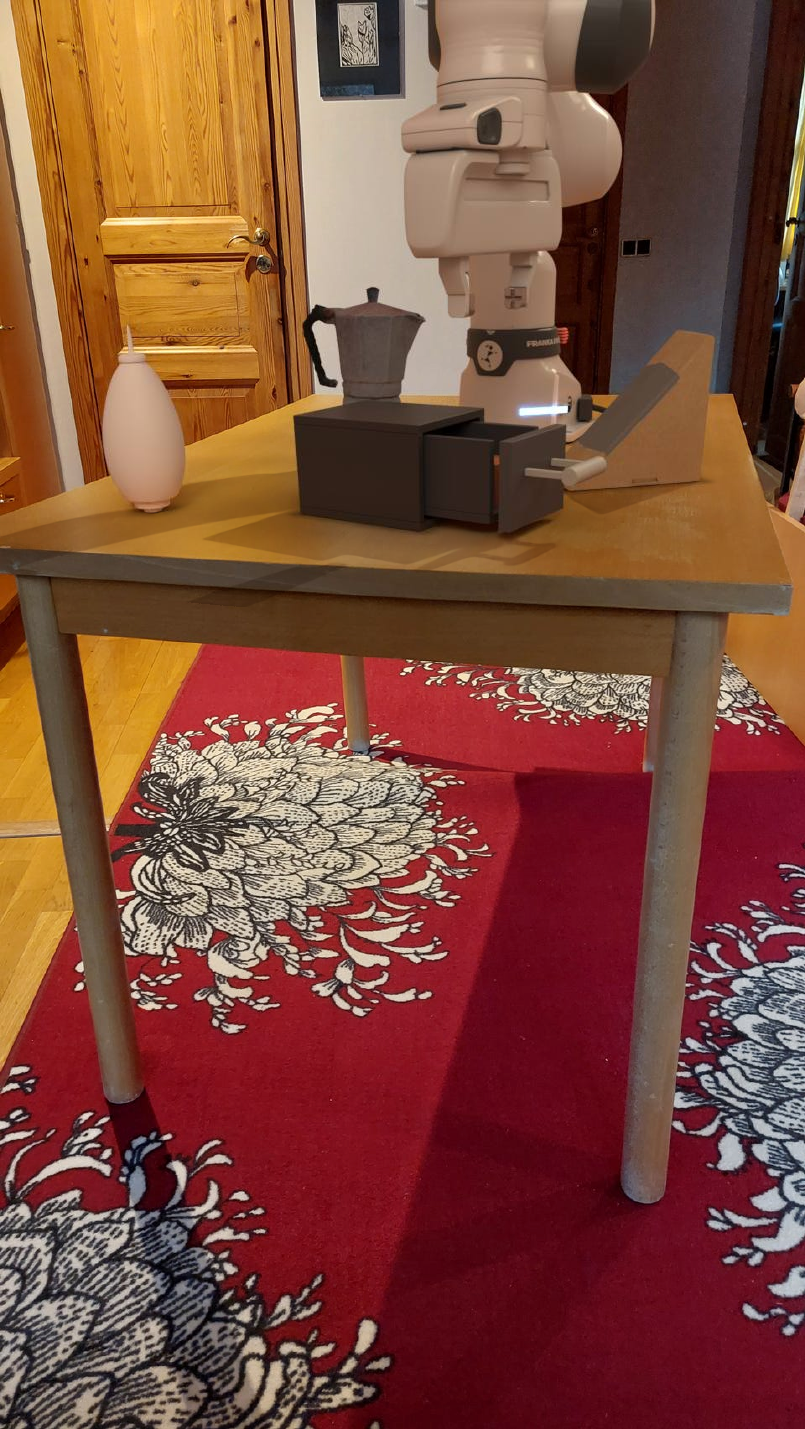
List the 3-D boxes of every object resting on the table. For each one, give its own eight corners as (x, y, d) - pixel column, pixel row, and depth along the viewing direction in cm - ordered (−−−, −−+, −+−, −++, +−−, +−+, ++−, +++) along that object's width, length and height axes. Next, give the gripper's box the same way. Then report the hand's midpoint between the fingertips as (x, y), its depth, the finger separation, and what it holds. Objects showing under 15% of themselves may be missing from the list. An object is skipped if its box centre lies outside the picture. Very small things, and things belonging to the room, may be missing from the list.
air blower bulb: (100, 518, 100) (69, 328, 92) (138, 500, 106) (112, 322, 99) (169, 521, 98) (143, 327, 90) (204, 503, 104) (183, 321, 97)
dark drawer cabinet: (483, 506, 99) (484, 408, 95) (420, 531, 91) (417, 425, 87) (368, 491, 107) (364, 400, 103) (300, 513, 99) (292, 415, 95)
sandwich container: (541, 476, 112) (545, 335, 105) (666, 466, 114) (677, 329, 108) (567, 491, 104) (574, 341, 98) (701, 481, 107) (715, 334, 100)
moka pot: (421, 468, 118) (417, 287, 109) (298, 467, 121) (285, 290, 112) (435, 453, 126) (432, 284, 117) (319, 452, 129) (309, 287, 120)
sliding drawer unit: (614, 514, 91) (619, 428, 88) (563, 540, 83) (567, 447, 80) (444, 493, 101) (443, 415, 98) (385, 515, 93) (382, 431, 90)
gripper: (519, 138, 89) (516, 304, 95) (387, 125, 74) (393, 322, 80) (583, 132, 85) (575, 304, 91) (458, 117, 70) (459, 323, 77)
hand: (490, 313), depth 85 cm, fingers open, 8 cm apart
